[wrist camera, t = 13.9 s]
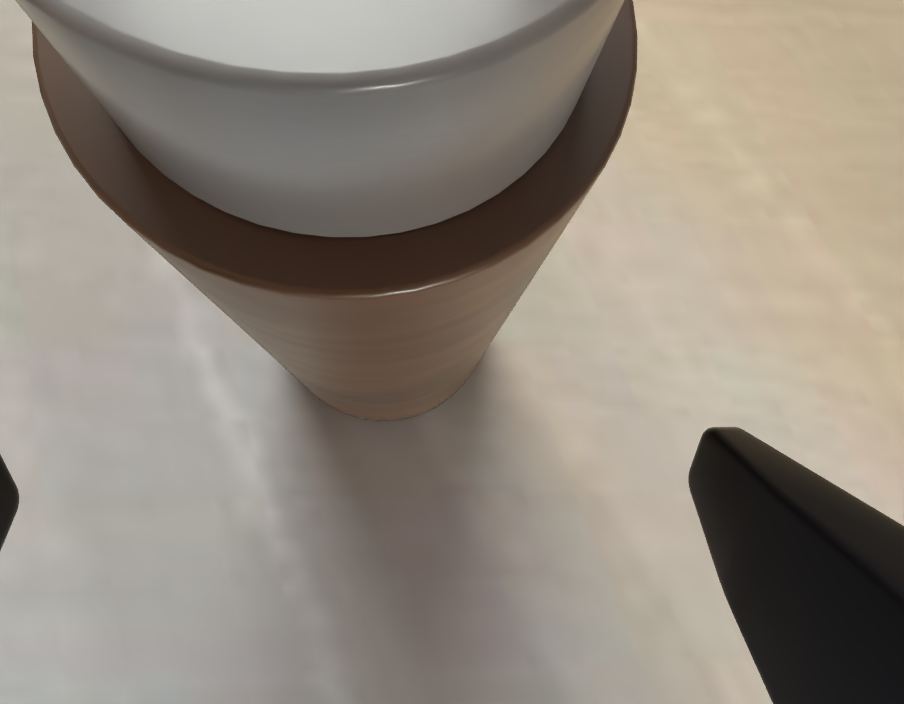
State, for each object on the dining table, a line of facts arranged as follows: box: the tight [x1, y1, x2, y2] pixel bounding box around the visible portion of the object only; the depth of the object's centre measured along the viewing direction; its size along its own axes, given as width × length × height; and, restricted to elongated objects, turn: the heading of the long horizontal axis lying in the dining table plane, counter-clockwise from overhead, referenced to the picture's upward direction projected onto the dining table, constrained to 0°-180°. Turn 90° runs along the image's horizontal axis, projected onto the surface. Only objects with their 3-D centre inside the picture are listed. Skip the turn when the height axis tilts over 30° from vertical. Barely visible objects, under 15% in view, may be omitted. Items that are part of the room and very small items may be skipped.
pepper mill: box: [16, 0, 637, 421], centre depth 10 cm, size 6×6×13 cm
